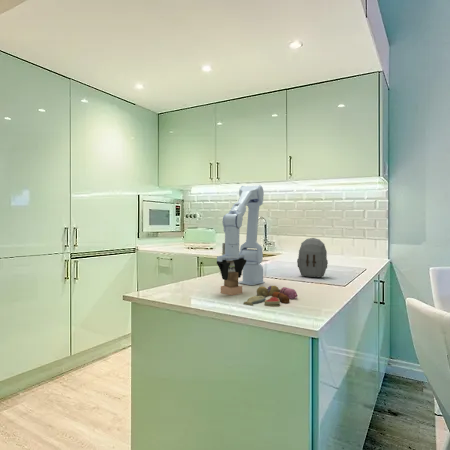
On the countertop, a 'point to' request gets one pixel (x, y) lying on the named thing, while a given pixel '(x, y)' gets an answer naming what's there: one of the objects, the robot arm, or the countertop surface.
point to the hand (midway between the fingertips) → (231, 278)
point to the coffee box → (232, 266)
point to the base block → (231, 290)
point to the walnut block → (231, 279)
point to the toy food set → (277, 296)
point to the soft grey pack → (312, 258)
